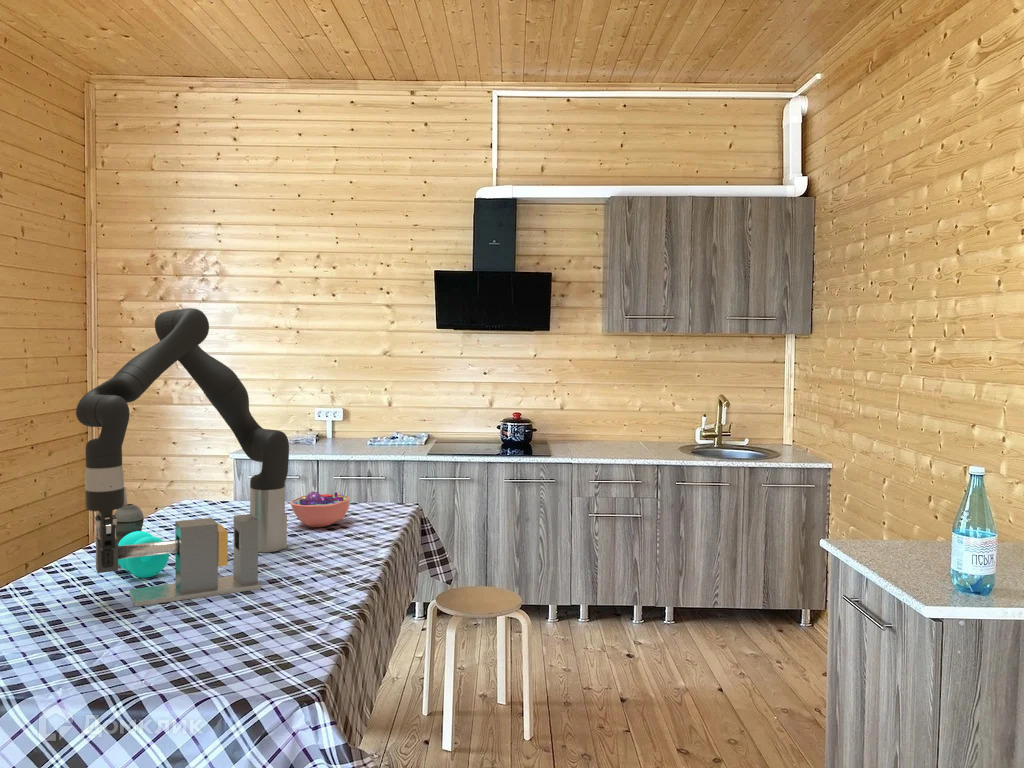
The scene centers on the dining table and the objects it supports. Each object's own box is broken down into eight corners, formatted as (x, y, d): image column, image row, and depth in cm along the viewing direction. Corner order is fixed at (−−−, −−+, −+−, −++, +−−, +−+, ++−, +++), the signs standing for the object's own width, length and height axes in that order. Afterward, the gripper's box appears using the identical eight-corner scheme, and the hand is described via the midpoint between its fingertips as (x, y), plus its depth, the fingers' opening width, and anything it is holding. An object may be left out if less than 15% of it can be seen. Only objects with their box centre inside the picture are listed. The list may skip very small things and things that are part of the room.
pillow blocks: (251, 577, 196) (251, 512, 195) (261, 588, 187) (261, 521, 186) (129, 593, 181) (129, 524, 180) (134, 606, 173) (134, 533, 172)
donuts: (155, 565, 203) (155, 527, 203) (171, 574, 196) (170, 534, 196) (113, 573, 196) (113, 533, 196) (128, 582, 189) (128, 541, 189)
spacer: (220, 557, 190) (220, 524, 190) (227, 565, 184) (227, 531, 183) (211, 558, 189) (211, 524, 189) (218, 566, 183) (218, 532, 182)
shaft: (217, 554, 188) (217, 524, 188) (221, 558, 185) (221, 528, 184) (95, 568, 175) (95, 536, 174) (97, 573, 171) (97, 541, 171)
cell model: (363, 523, 255) (363, 488, 254) (316, 535, 238) (317, 498, 237) (325, 516, 264) (325, 482, 263) (277, 527, 247) (278, 491, 246)
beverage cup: (131, 569, 200) (131, 490, 198) (106, 567, 201) (105, 488, 200) (150, 561, 207) (150, 485, 206) (125, 559, 208) (125, 483, 207)
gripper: (127, 490, 169) (129, 570, 170) (120, 479, 181) (122, 554, 182) (87, 494, 165) (89, 575, 166) (82, 482, 177) (85, 558, 178)
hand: (106, 564), depth 174 cm, fingers closed on shaft, 4 cm apart
